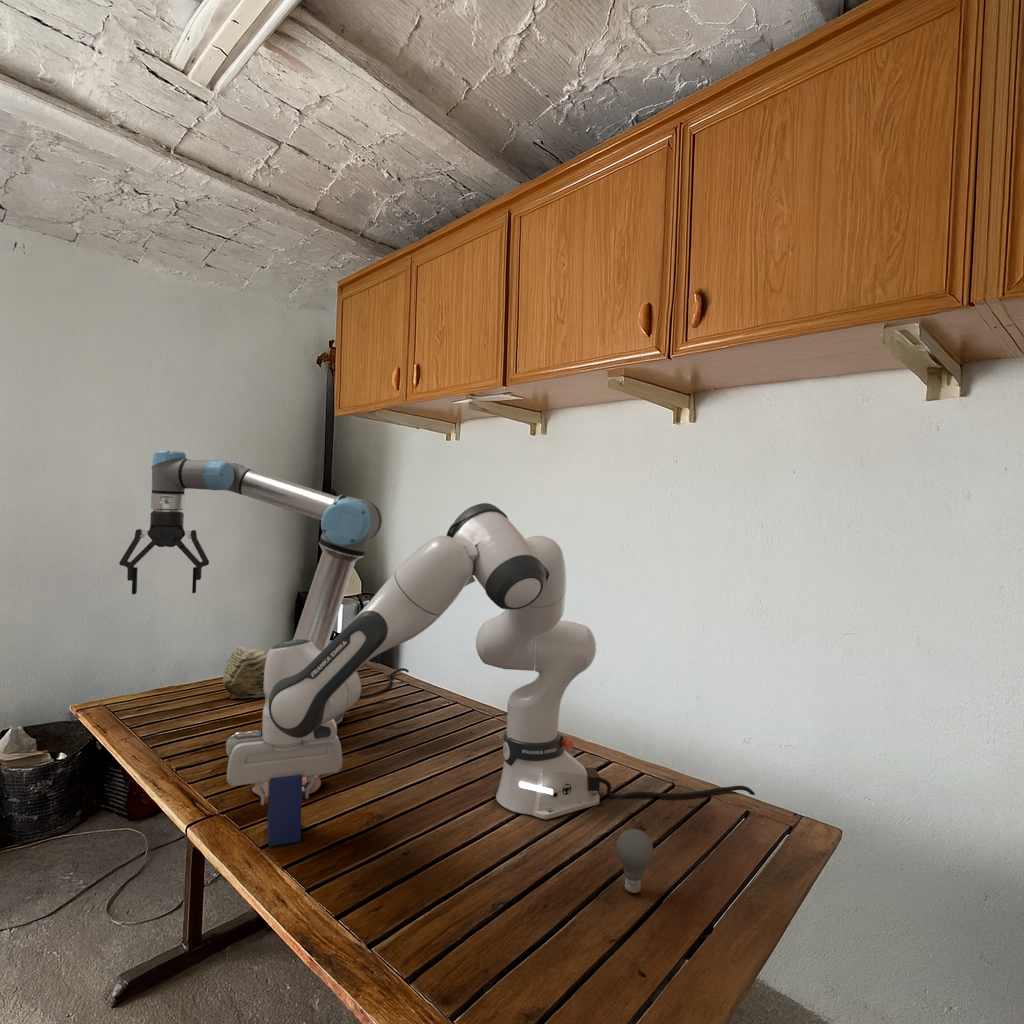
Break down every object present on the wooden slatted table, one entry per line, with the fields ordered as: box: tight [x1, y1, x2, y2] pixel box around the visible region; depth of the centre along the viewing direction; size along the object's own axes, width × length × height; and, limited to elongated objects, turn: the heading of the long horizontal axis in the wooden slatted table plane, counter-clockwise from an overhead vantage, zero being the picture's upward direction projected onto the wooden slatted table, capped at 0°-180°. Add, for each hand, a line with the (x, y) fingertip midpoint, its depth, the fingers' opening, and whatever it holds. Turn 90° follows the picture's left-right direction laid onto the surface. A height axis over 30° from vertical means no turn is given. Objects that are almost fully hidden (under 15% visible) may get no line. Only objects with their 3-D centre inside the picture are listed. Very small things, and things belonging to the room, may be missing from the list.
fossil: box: [222, 646, 268, 699], centre depth 198 cm, size 9×18×15 cm, turn 132°
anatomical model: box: [251, 775, 322, 797], centre depth 137 cm, size 13×4×12 cm
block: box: [266, 775, 303, 847], centre depth 118 cm, size 6×6×12 cm
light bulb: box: [615, 828, 654, 894], centre depth 106 cm, size 6×6×10 cm
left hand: (164, 593), depth 163 cm, fingers open, 13 cm apart
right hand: (284, 800), depth 118 cm, fingers closed on block, 5 cm apart
